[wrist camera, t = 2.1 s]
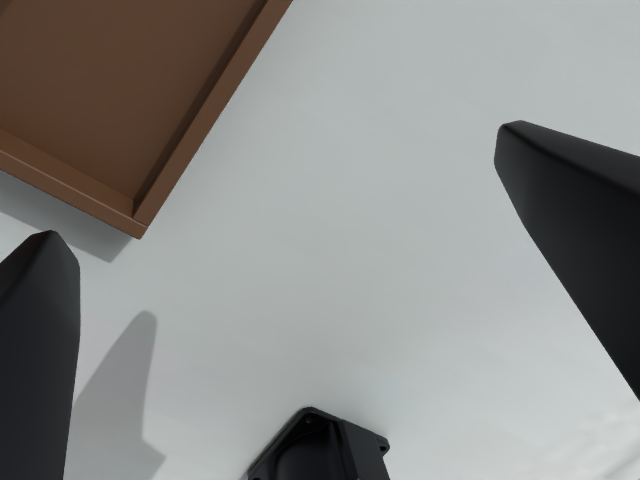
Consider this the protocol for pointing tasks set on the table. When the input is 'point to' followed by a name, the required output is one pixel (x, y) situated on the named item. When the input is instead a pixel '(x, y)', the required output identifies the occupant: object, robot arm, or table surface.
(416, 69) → the table surface
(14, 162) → the tray
